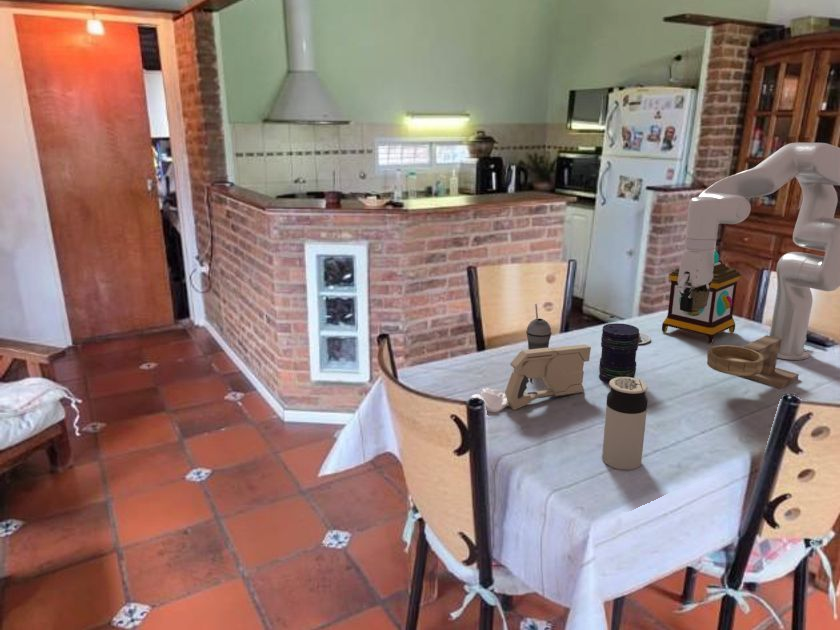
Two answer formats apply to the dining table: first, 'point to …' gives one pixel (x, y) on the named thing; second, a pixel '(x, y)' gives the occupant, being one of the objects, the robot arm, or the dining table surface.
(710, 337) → the decorative lantern
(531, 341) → the beverage cup
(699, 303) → the cup
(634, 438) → the travel mug
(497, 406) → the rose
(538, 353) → the gun
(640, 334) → the beige low round piece
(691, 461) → the dining table surface
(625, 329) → the storage jar
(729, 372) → the rail cup bracket
